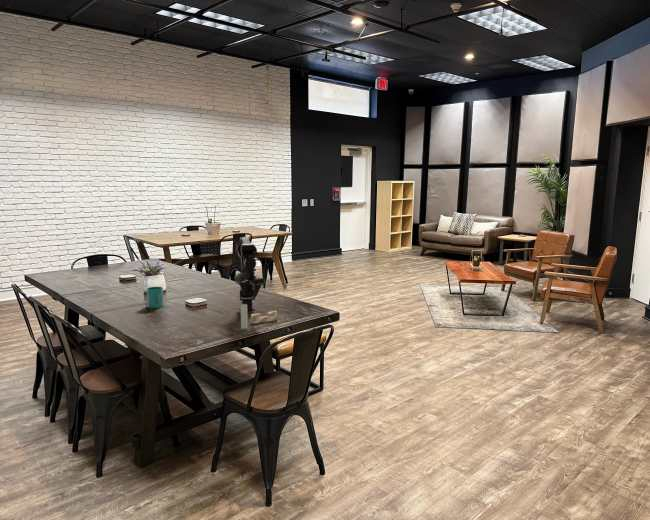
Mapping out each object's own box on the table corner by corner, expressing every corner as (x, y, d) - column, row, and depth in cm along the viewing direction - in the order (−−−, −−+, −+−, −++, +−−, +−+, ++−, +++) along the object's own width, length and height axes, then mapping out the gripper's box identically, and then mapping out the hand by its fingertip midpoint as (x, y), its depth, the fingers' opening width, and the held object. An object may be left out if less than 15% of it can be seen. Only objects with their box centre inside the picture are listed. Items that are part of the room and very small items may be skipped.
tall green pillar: (241, 324, 249) (241, 304, 247) (247, 324, 249) (247, 304, 247) (241, 328, 242) (240, 307, 240) (247, 328, 242) (246, 307, 241)
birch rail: (252, 323, 251) (252, 315, 250) (251, 322, 252) (251, 314, 252) (277, 319, 257) (277, 311, 257) (275, 319, 259) (275, 310, 258)
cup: (151, 310, 278) (150, 291, 276) (146, 306, 287) (144, 287, 286) (167, 308, 283) (166, 289, 281) (161, 303, 292) (160, 285, 291)
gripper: (225, 267, 257) (227, 296, 259) (248, 269, 245) (249, 300, 246) (242, 265, 265) (243, 293, 267) (264, 267, 253) (265, 296, 254)
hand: (249, 296), depth 258 cm, fingers open, 9 cm apart
